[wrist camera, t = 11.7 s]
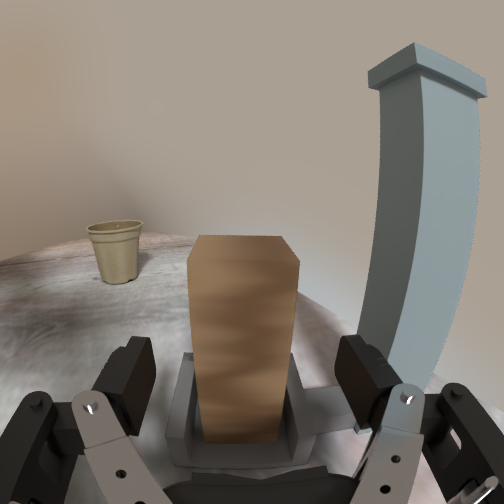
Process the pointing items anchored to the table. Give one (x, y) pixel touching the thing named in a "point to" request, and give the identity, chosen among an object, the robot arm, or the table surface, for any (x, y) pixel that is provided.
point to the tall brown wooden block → (241, 333)
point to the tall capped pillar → (383, 258)
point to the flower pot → (116, 249)
